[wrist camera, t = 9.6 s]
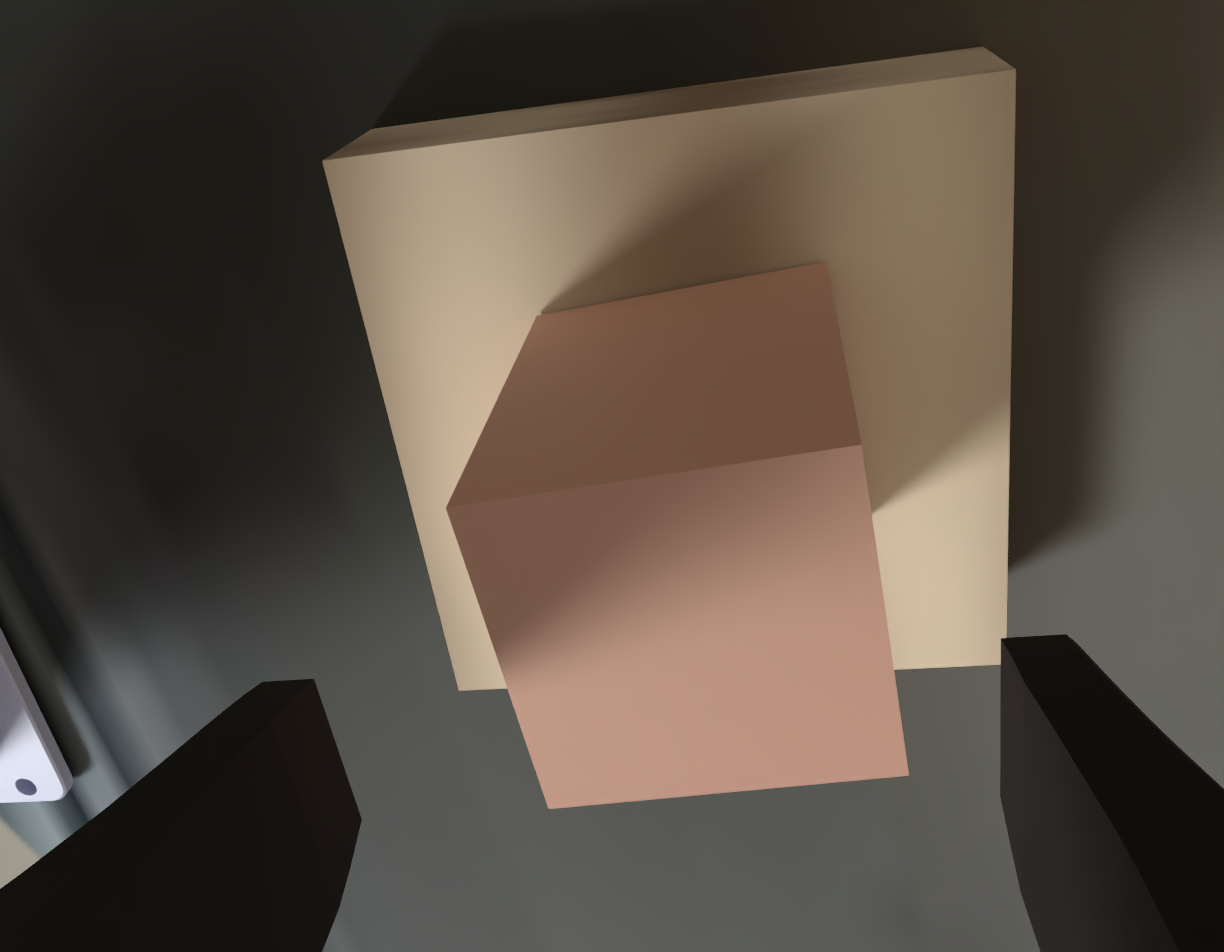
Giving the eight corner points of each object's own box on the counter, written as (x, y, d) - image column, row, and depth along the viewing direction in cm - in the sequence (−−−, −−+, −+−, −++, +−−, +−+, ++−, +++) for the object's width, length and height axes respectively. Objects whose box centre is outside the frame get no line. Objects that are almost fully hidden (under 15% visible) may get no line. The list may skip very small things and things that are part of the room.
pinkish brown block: (602, 555, 19) (548, 808, 14) (536, 315, 17) (446, 507, 12) (864, 519, 19) (909, 775, 13) (826, 261, 17) (861, 444, 11)
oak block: (491, 602, 24) (459, 690, 21) (380, 123, 19) (322, 161, 17) (975, 572, 22) (1005, 664, 20) (976, 42, 18) (1016, 69, 15)
